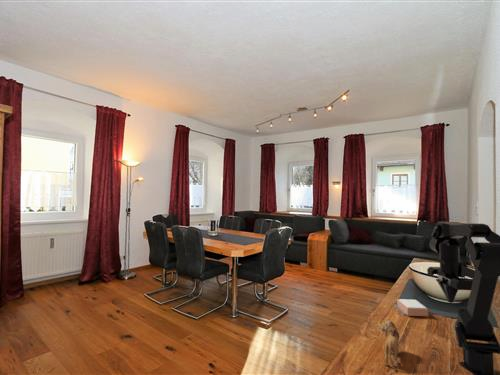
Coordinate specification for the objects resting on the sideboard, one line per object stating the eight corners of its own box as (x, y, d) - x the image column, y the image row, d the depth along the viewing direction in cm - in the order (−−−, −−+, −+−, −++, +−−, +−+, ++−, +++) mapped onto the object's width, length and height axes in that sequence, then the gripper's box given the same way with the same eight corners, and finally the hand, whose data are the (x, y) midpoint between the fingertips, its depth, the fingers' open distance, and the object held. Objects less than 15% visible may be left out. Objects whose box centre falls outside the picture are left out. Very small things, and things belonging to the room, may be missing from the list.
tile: (427, 308, 115) (415, 299, 125) (407, 307, 116) (397, 298, 126) (427, 316, 115) (416, 306, 125) (407, 315, 116) (397, 306, 126)
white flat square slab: (428, 315, 116) (428, 314, 116) (403, 314, 117) (403, 313, 117) (416, 306, 126) (416, 305, 126) (393, 305, 127) (393, 304, 127)
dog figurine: (380, 344, 94) (379, 317, 95) (397, 347, 93) (397, 319, 93) (385, 369, 81) (384, 338, 81) (405, 373, 79) (405, 341, 79)
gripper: (494, 264, 87) (496, 314, 87) (456, 252, 106) (458, 293, 106) (457, 263, 89) (458, 313, 88) (426, 251, 107) (427, 292, 107)
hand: (450, 302), depth 97 cm, fingers closed
